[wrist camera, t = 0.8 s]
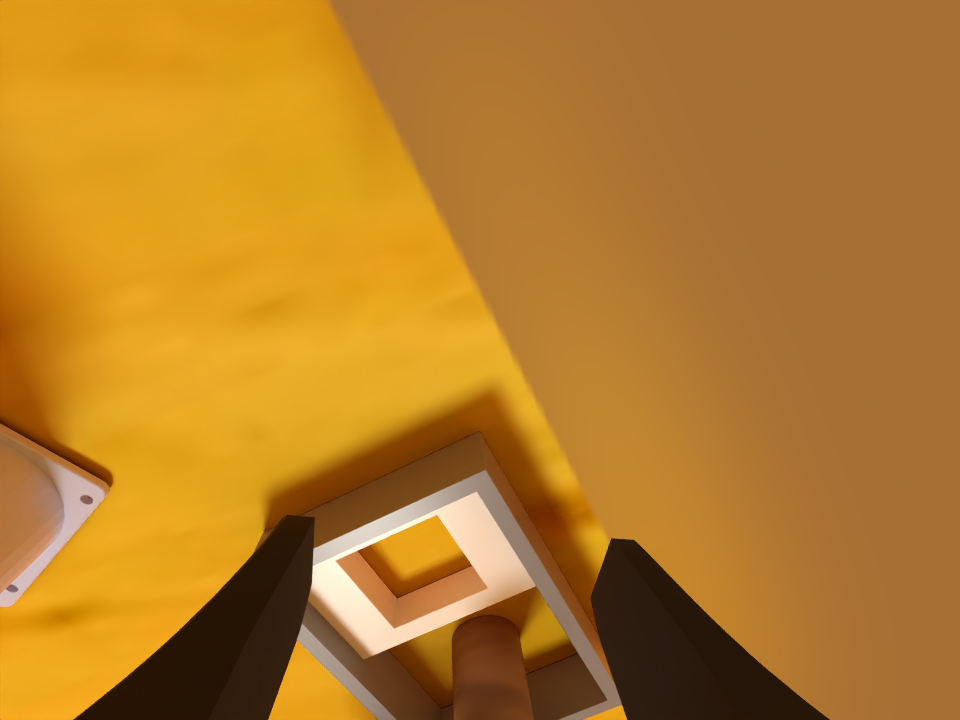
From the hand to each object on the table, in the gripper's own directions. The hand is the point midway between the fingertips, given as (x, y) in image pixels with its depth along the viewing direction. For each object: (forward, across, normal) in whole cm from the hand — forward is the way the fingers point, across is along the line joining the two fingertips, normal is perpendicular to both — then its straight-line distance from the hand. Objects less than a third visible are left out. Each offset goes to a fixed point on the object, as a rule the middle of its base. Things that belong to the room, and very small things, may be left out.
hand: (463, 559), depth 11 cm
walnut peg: (+10, -4, +16) cm, 20 cm away
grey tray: (+10, -2, +13) cm, 17 cm away
